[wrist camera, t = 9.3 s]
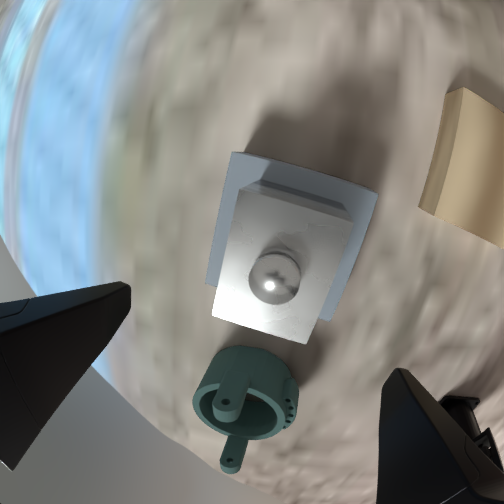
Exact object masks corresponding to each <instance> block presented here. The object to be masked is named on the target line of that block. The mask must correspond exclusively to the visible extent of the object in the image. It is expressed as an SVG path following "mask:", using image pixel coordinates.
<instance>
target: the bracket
mask: <svg viewBox="0 0 504 504" xmlns="http://www.w3.org/2000/svg"><path fill="white" fill-rule="evenodd" d="M247 393H250V394H253V395H255V396H257V397H259V398H261V399H263V400H264V401H263V402H253V401H247V400H245V397H246V394H247ZM298 398H299V389H298V385H297V383H296V381H295V379H294V378H291V374H290V371H289V369H288V367H287V366H286V364H285V363H284V362H283V361H282V360H281V359H279V358H278V357H277V356H276V355H274V354H272V353H270V352H268V351H266V350H263V349H260V348H253V347H246V346H233V347H229V348H226V349H224V350H221V351H220V352H219V353H217V354H216V355H215V356H214V358H213V359H212V361H211V363H210V365H209V367H208V369H207V371H206V373H205V375H204V377H203V379H202V381H201V383H200V385H199V387H198V388H197V390H196V392H195V394H194V396H193V400H192V401H193V408H194V410H195V412H196V414H197V415H198V417H199V418H200V419H201V420H202V421H203V422H204V423H205V424H206V425H208V426H209V427H211V428H212V429H214V430H215V431H217V432H219V433H222V434H224V435H227V436H228V439H227V441H226V444H225V447H224V450H223V452H222V455H221V458H220V466H221V469H222V471H223V472H225V473H227V474H235V473H237V472H238V471H239V470H240V468H241V465H242V461H243V458H244V455H245V451H246V448H247V445H248V440H260V439H265V438H269V437H272V436H274V435H275V434H277V433H278V432H280V431H281V430H282V429H286V428H287V427H289V426H290V425H291V424H292V423H293V421H294V419H295V417H296V413H297V406H298Z"/></svg>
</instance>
